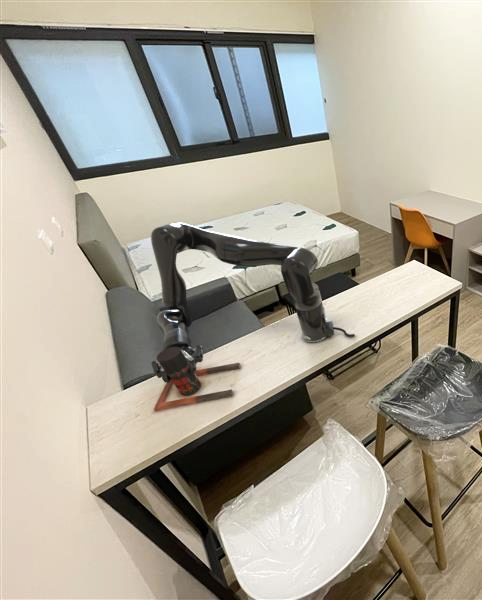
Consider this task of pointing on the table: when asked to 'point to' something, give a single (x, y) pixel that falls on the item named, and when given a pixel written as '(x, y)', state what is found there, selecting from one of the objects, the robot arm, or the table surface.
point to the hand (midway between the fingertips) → (180, 375)
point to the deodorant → (179, 371)
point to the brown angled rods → (201, 398)
